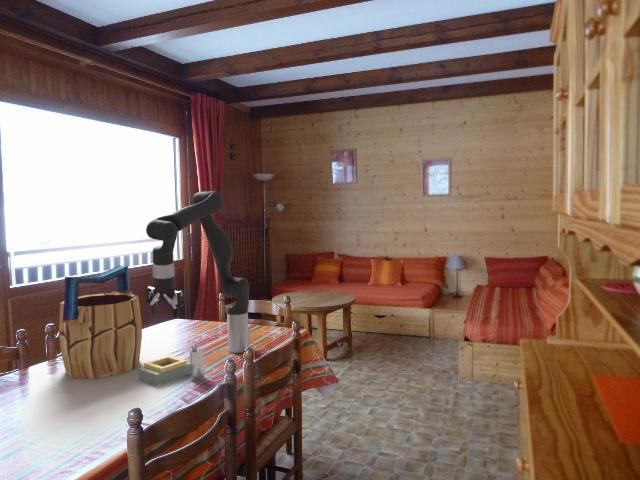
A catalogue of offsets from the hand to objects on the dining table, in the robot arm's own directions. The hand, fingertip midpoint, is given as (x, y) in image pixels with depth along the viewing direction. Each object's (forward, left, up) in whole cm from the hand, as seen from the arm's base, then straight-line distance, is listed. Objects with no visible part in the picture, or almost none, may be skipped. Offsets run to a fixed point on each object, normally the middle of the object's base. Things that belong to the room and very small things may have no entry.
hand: (165, 315), depth 174 cm
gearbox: (-5, -5, -25) cm, 26 cm away
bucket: (+6, -35, -25) cm, 44 cm away
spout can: (-8, +8, -25) cm, 27 cm away
